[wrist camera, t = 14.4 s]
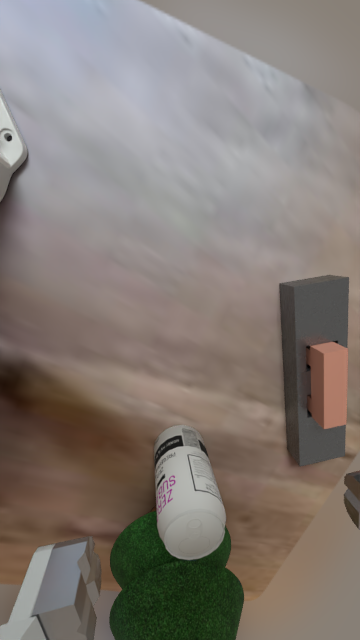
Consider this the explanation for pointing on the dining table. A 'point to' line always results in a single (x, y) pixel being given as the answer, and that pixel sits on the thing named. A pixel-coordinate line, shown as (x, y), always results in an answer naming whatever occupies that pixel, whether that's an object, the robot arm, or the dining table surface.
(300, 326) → the rail
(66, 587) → the robot arm
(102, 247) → the dining table surface
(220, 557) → the decorative tree
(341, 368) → the pink notched block
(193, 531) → the supplement can
